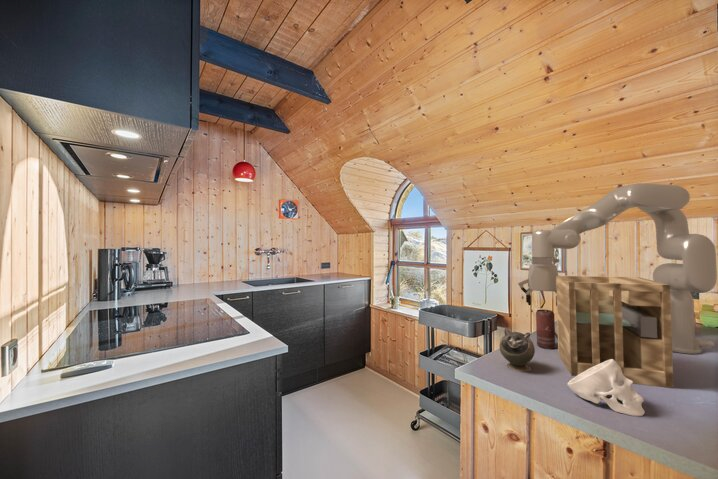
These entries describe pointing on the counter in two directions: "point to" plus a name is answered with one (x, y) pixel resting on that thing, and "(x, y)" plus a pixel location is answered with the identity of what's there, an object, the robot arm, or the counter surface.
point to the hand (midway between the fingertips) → (543, 305)
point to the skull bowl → (608, 388)
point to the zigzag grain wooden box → (615, 327)
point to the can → (545, 329)
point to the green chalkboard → (626, 321)
